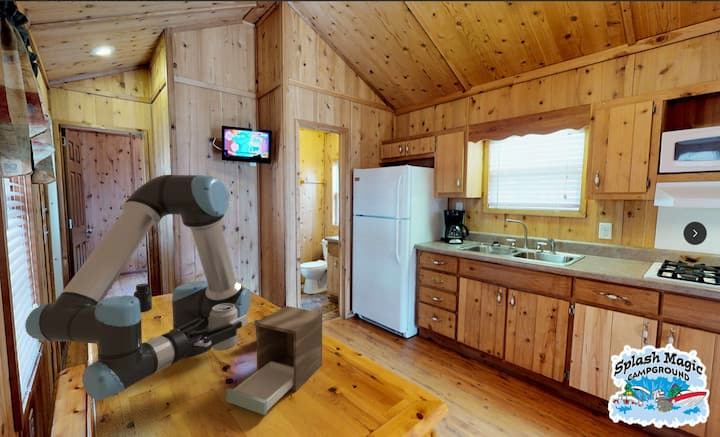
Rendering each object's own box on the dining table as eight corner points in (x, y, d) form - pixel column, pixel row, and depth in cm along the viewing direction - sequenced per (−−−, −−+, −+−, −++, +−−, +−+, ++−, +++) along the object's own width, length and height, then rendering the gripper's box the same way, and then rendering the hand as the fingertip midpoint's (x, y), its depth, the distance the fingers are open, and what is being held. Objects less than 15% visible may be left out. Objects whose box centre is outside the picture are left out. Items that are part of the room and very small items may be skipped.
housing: (257, 379, 96) (256, 322, 94) (286, 356, 109) (286, 305, 108) (296, 391, 90) (296, 331, 89) (321, 365, 104) (322, 312, 103)
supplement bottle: (148, 306, 152) (147, 281, 151) (154, 309, 148) (153, 284, 147) (131, 310, 147) (130, 285, 146) (137, 313, 143) (136, 288, 142)
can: (227, 353, 89) (226, 312, 88) (204, 350, 91) (203, 309, 90) (242, 341, 96) (242, 303, 95) (221, 338, 98) (220, 300, 97)
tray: (226, 401, 84) (226, 390, 83) (269, 367, 100) (269, 358, 99) (264, 415, 79) (264, 403, 79) (303, 377, 95) (303, 367, 95)
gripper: (139, 355, 81) (212, 322, 102) (195, 375, 73) (262, 335, 94) (137, 327, 80) (212, 299, 101) (194, 344, 72) (262, 310, 93)
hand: (236, 316), depth 97 cm, fingers closed on can, 7 cm apart
